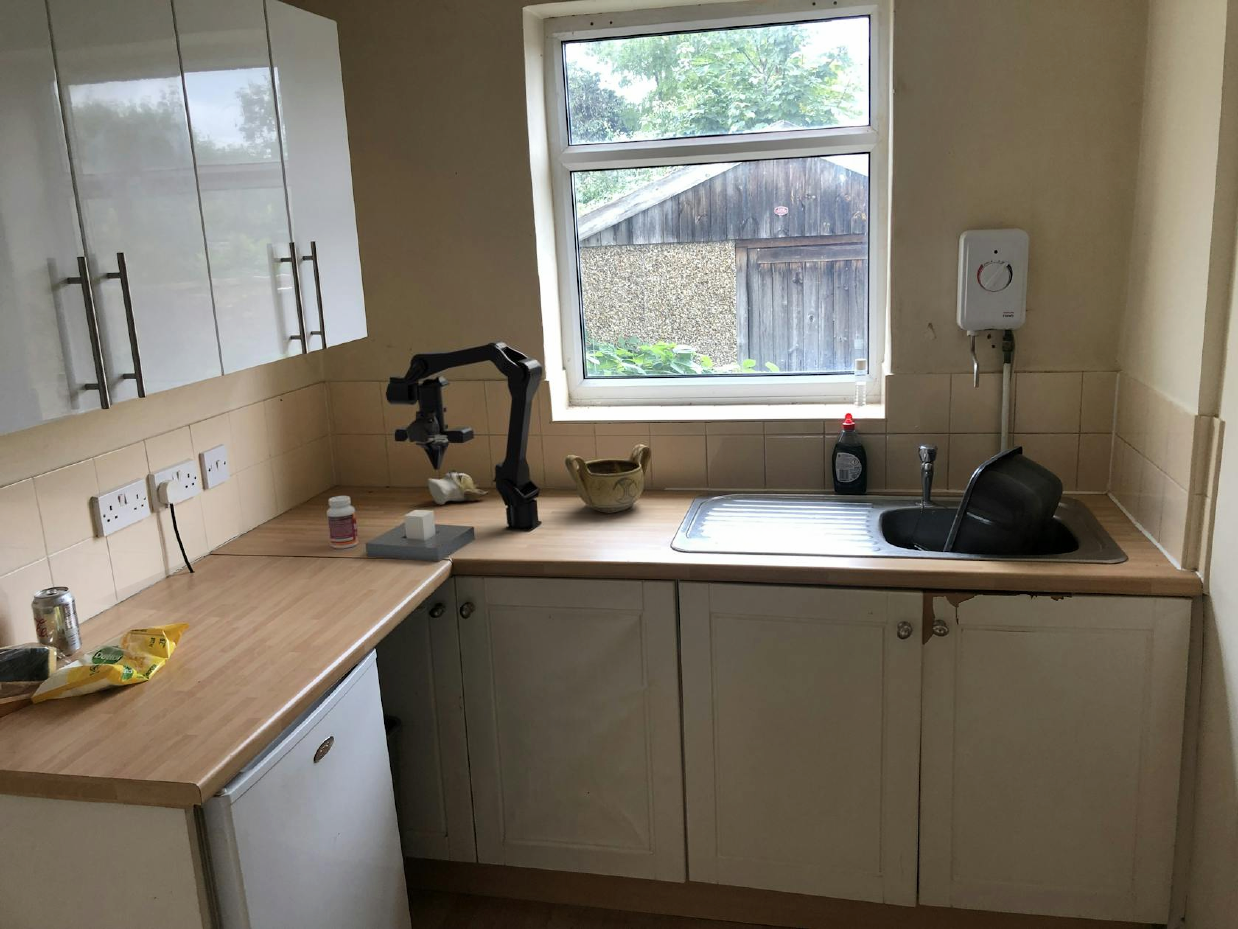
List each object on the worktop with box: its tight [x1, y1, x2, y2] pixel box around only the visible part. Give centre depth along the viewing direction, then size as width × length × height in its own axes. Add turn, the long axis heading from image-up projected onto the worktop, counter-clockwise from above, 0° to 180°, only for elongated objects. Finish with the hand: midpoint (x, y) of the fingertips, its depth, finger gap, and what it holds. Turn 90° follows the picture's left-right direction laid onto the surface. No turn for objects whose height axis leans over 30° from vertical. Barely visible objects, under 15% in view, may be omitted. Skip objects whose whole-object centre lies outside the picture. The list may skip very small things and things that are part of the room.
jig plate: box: [365, 522, 476, 563], centre depth 221 cm, size 18×16×3 cm
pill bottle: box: [326, 495, 359, 550], centre depth 225 cm, size 6×6×11 cm
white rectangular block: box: [403, 509, 436, 540], centre depth 220 cm, size 5×5×8 cm
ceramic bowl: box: [564, 443, 652, 514], centre depth 242 cm, size 22×17×15 cm
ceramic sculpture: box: [427, 469, 491, 505], centre depth 258 cm, size 11×9×15 cm
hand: (436, 469), depth 238 cm, fingers closed
